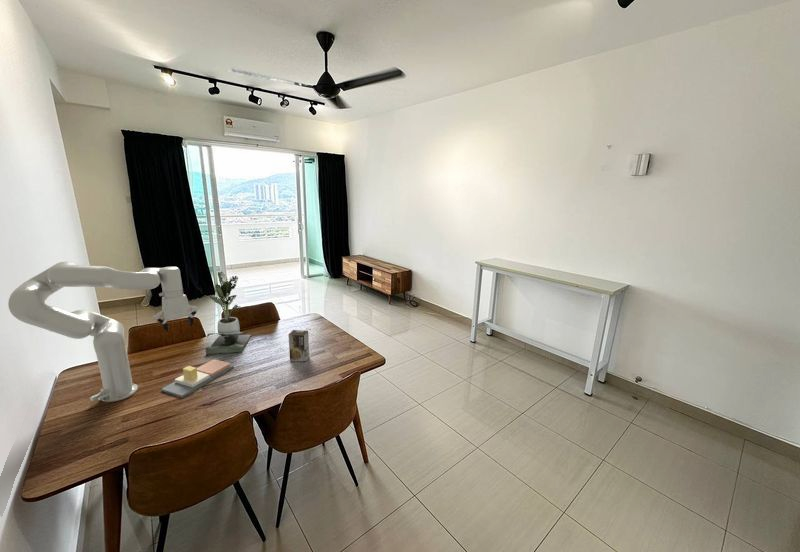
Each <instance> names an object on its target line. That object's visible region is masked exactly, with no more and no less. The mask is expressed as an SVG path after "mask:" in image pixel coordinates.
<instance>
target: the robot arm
mask: <svg viewBox="0 0 800 552" xmlns="http://www.w3.org/2000/svg"><path fill="white" fill-rule="evenodd" d="M160 284H161V288H162V292H160V293H158V295H159V297H161V310H160V311H158V312H157V313H155V314H154V315H153V318H154V319H155V320H156V321H157V322H158V323H161V324H162V329H163V331H166V332H167V333H168V332H169V327H168V323H167V322H168V321H169V320H175V319H179V318H182V317H183V318H184V317H187V319H188V324H189V326H190V327H192V326H193V324H194V317H195V315H196V314H197V311H198V309H199V307H198V306H196V305H190V303H189V300H188V297H187V295H186V294H184V288H183V282H182V276H181V270H180V268H179V267H177V266H165V267H144V268H143V269H141V270H140V271H139V272H137V271H136V272H135V271H123V270H120V269H119V270H118V269H115V268H113V267H110V266H105V265H79V264H77V263H75V262H72V261H60V262H57V263H55V264H53V265H52V266H50V267H48V268H47V269H45V270H44V271H41V272H39V274H37V275H34V276H32V277H31V278H29V279H28V280H26V281H24V282H23V283H22V284H20V285H19V286H18V287H17V288H15V289H14V290H13V291H12V292H11V293H10V296H9V298H8V302H7V303H8V310H9V312H10V313H11V315H12V316H13V317H15V318H16V319H17V320H18V321H20V322H22V323H25V324H28V325H31V326H34V327H38V328H41V329H44V330H47V331H49V332H52V333H55V334H58V335H61V336H63V337H67V338H71V339H75V340H77V339H79V340H81V339H84V338H88V336H89V337H90V336H91V337H93V340H92V341H93V342H92V343H93V349H94V352H95V355H96V360H97V364H98V368H99V373H100V378H101V382H102V388H100V391H99V392H98V393H97V394H94V395H92V396H90V397H89V400H90V401H91V402H94V401H95V400H98V401H102V402H104V403H110V402H111V403H113V402H118V401H122V400H124V399H128V398H129V397H131V396H132V395H135V394H136V393H137V392H138V390H139V386H138V385H137V384H136V383H133V379H132V378H133V377H132V373H131V367H130V366H131V365H130V361H129V356H128V351H127V347H126V341H125V326H124V324H123V323H122V322H120V321H118V320H115V319H113V318H111V317H107V316H105V315H102V314H100V313H97V312H95V311H91V310H87V309H77V310H74V311H72V312H71V311H67V310H65V309H63V308H60V307H55V306H51V305H48V304H46V302H45V301H46V300H47V299H48V298H49V297H50V296H51V295H53V294H55V293H56V292H58V291H60V290H61V289H63V288H67V287H68V288H69V287H70V288H71V287H73V288H87V287H88V288H108V289H117V290H132V291H133V290H135V291H138V290H140V291H141V290H143V291H144V290H145V291H146V290H152V289H155V288H157V287H159V285H160ZM191 309H192V311H191ZM162 315H163V317H162V319H161V318H160V316H162Z"/></svg>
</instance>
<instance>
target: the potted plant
mask: <svg viewBox="0 0 800 552" xmlns="http://www.w3.org/2000/svg"><path fill="white" fill-rule="evenodd" d="M217 277H218V281H219V284H218V283H216V284H215V290H216V294H217V296H209V298H210V299H211V300H212V301H213V303H216V304H218V305H220V307H221V309H222V311H223V316H224V318H220V319H218V321H217V332H209V333H207V335H206V337H207V338H208V337H209V336H213V335H218V337H217V338H215V340H214V341H213V343H212V344H211V345H210V346H207V347H205V354H206V355H216V354H218V353H221V354H234V353H233V352H239V353H243V352H244V350H245V348H246V346H247V345H248V343H249V341H250V339H251V338H250V336H251V337H252V334H244V332H243V331H240V321H239V319H238V318H237V317H235V316H231V314H232V312H233V311H234V310H238V309H239V308H241V305H238V304H234V305H233V306H232V308H231V309H230V312H229V306H230V305H231V304H232V303H233V301H234V300H235V299H236V297H237V296H238V295H236V294H234V295H231V292H232V290H235V289H236V286H237V282H238V281H239V277H237V275H235V276H234V275H232V276H231V277H229V280H228V277H227V276H225V274H224V272H223V271H218V272H217ZM223 279H224V280H223ZM249 338H250V339H249ZM248 340H249V341H248ZM247 342H248V343H247ZM246 344H247V345H246ZM242 351H243V352H242Z"/></svg>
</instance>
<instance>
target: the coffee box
mask: <svg viewBox="0 0 800 552" xmlns="http://www.w3.org/2000/svg"><path fill="white" fill-rule="evenodd" d="M287 335H288V349H289V350H288V351H289V352H288V353H289V361H290V360H293V361H292V362H297V361H306V360H307V361H308V359H309V358H310V344H309V343H310V339H309V330H297V329H292V330H291V331H290V332H289V333H288V334H287ZM308 357H309V358H308ZM307 361H306V362H307Z"/></svg>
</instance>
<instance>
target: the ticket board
mask: <svg viewBox="0 0 800 552" xmlns="http://www.w3.org/2000/svg"><path fill="white" fill-rule="evenodd" d="M196 368H197V371H198V372H202V373H205V374H209V375H210V378H208V379H207V380H205V381H203V382H201V383H200V384H198V385H196V386H194V387H193V388H192V387H189V386H186V385H182V384H179V383H176V382H175V381H173V382H171V383H169V384H168V385H165V386H164V387H162V388H160V389H161V392H163V393H166V394H169V395H172V396H175V397H178V398H181V399H182V398H185V397H186V396H188V395H190V394H192V393H193V392H195V391H197V390H198V389H200V388H202V387H203V386H206V385H207V384H208V383H209V384H210V382H212V381H214V380H215V379H217V378H219V377H221V376H222V375H224V374H226V373H227V372H228V371H230V370H232V369H234V365H233V364H231V363H229V362H226V361H222V360H218V359H215V358H213V359H212V360H210V361H207V362H205V363H204V364H202V365H200V366H198V367H196Z"/></svg>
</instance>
